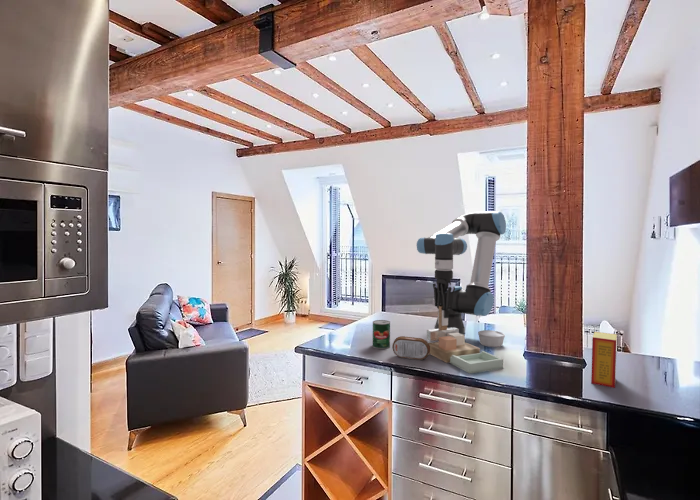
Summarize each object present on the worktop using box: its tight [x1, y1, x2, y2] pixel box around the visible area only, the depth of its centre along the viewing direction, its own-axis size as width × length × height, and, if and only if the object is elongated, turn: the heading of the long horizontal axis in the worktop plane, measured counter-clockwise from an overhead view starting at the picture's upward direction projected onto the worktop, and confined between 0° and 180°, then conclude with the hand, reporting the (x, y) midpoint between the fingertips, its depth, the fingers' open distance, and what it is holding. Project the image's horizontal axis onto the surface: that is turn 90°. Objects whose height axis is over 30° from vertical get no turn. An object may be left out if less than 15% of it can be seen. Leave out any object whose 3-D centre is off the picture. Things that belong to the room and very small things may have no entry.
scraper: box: [426, 306, 459, 342], centre depth 166 cm, size 14×3×14 cm, turn 110°
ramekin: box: [477, 329, 506, 348], centre depth 176 cm, size 11×11×5 cm
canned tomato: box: [372, 319, 391, 350], centre depth 172 cm, size 8×8×11 cm
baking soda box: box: [590, 331, 618, 389], centre depth 132 cm, size 10×6×16 cm
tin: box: [392, 335, 430, 361], centre depth 156 cm, size 15×3×8 cm, turn 71°
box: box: [449, 350, 504, 375], centre depth 147 cm, size 15×12×4 cm
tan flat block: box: [428, 341, 481, 364], centre depth 160 cm, size 16×14×4 cm
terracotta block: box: [438, 336, 457, 350], centre depth 157 cm, size 5×5×4 cm
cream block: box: [447, 332, 466, 346], centre depth 163 cm, size 5×5×4 cm
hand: (442, 324), depth 166 cm, fingers closed on scraper, 2 cm apart
